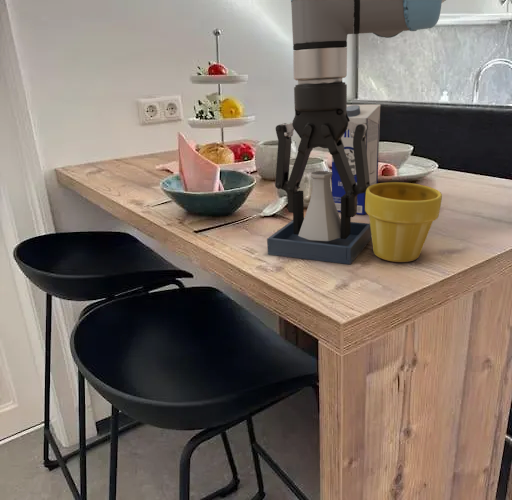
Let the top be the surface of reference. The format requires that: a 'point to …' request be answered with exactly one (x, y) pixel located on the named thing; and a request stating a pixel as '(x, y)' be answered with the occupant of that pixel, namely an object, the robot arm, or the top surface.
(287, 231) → the tray
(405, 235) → the flower pot
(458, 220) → the top surface
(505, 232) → the top surface
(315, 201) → the flask
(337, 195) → the milk carton
